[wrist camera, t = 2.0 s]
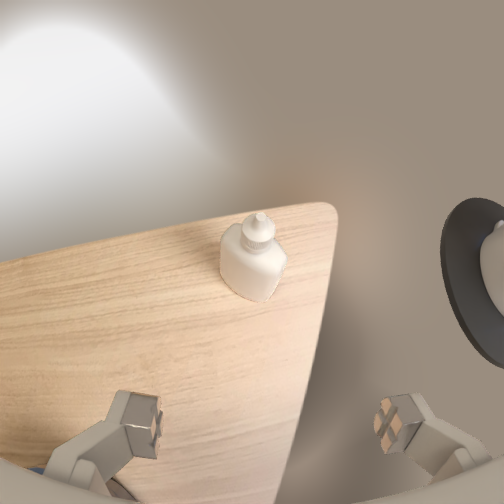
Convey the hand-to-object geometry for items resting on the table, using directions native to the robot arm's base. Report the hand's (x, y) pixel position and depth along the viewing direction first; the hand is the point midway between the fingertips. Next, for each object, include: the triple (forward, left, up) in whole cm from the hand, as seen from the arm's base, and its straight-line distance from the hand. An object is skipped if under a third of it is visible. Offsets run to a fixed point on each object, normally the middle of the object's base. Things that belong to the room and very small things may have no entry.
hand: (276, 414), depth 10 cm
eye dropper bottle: (+2, -12, -19) cm, 22 cm away
